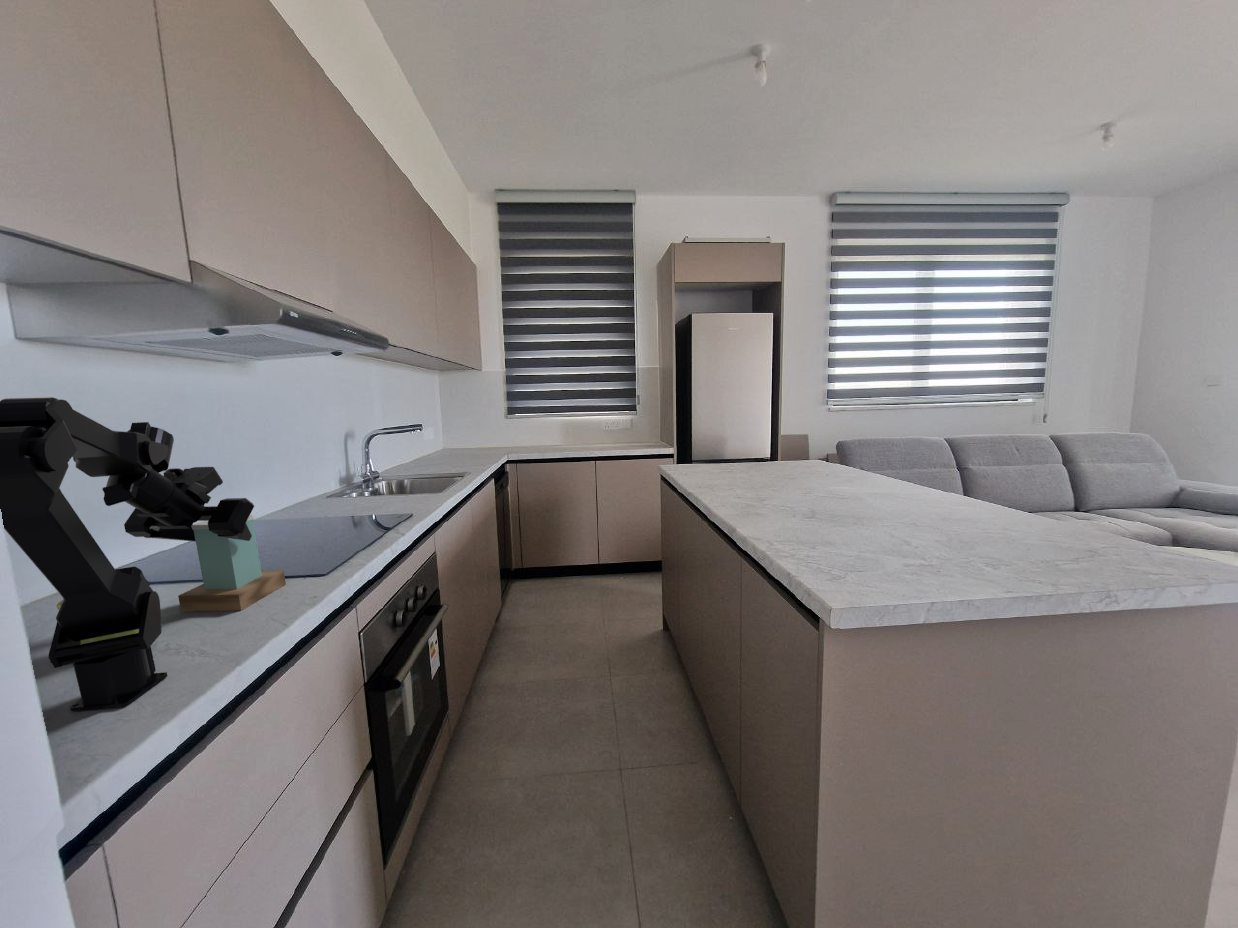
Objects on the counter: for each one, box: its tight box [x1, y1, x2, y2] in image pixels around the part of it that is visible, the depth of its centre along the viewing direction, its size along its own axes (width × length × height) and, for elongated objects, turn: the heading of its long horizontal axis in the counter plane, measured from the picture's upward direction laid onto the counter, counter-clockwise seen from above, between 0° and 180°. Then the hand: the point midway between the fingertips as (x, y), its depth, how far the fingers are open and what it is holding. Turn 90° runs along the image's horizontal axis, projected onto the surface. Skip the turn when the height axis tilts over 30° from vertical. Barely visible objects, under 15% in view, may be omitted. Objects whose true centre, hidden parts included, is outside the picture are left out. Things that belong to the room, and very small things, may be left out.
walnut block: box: [177, 569, 287, 612], centre depth 88 cm, size 11×11×3 cm
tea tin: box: [192, 514, 262, 590], centre depth 87 cm, size 6×6×12 cm
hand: (225, 538), depth 87 cm, fingers open, 9 cm apart
